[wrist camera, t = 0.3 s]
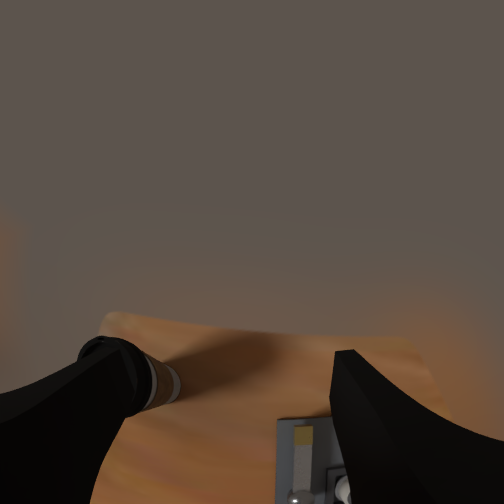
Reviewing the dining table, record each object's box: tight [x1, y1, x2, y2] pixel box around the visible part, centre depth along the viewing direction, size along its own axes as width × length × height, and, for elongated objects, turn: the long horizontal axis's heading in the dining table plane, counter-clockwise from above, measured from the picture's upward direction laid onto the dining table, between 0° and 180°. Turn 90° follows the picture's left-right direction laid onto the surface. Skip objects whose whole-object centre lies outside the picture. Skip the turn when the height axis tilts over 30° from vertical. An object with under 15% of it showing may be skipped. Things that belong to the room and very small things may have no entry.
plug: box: [334, 474, 351, 504], centre depth 22 cm, size 5×5×5 cm
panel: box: [275, 416, 347, 504], centre depth 25 cm, size 16×16×2 cm
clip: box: [287, 424, 315, 504], centre depth 24 cm, size 12×3×2 cm, turn 179°
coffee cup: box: [77, 336, 181, 418], centre depth 27 cm, size 8×8×15 cm
